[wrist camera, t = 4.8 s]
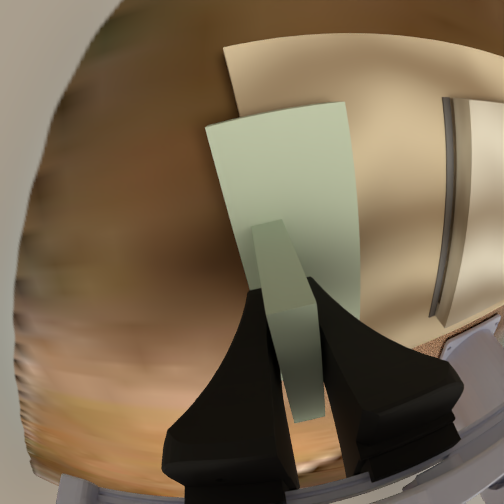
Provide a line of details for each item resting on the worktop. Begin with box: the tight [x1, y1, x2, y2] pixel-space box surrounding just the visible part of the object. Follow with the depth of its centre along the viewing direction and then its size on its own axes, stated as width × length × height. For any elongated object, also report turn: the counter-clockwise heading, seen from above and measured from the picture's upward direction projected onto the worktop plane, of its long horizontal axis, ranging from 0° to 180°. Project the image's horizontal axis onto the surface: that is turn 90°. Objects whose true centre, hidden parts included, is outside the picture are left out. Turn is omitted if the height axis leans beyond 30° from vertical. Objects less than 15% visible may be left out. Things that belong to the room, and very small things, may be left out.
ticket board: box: [223, 33, 504, 349], centre depth 13 cm, size 20×20×3 cm
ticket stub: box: [205, 101, 360, 423], centre depth 11 cm, size 14×5×6 cm, turn 12°
